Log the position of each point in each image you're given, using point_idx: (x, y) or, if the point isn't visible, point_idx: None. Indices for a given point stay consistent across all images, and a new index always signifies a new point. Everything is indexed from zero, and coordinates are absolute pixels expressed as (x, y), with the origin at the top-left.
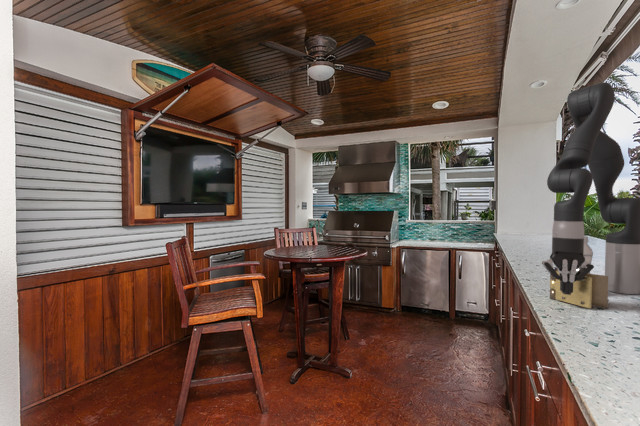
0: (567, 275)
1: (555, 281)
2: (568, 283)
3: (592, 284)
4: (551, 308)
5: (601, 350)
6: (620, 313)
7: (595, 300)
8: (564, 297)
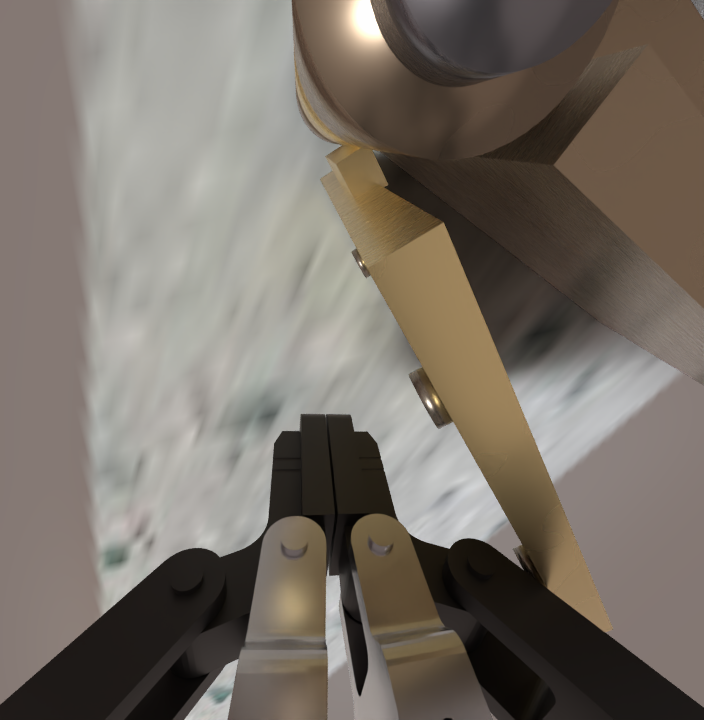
0: (368, 608)
1: (344, 176)
2: (329, 563)
3: (698, 369)
4: (200, 417)
5: (221, 713)
6: (578, 408)
7: (587, 306)
8: (368, 275)
